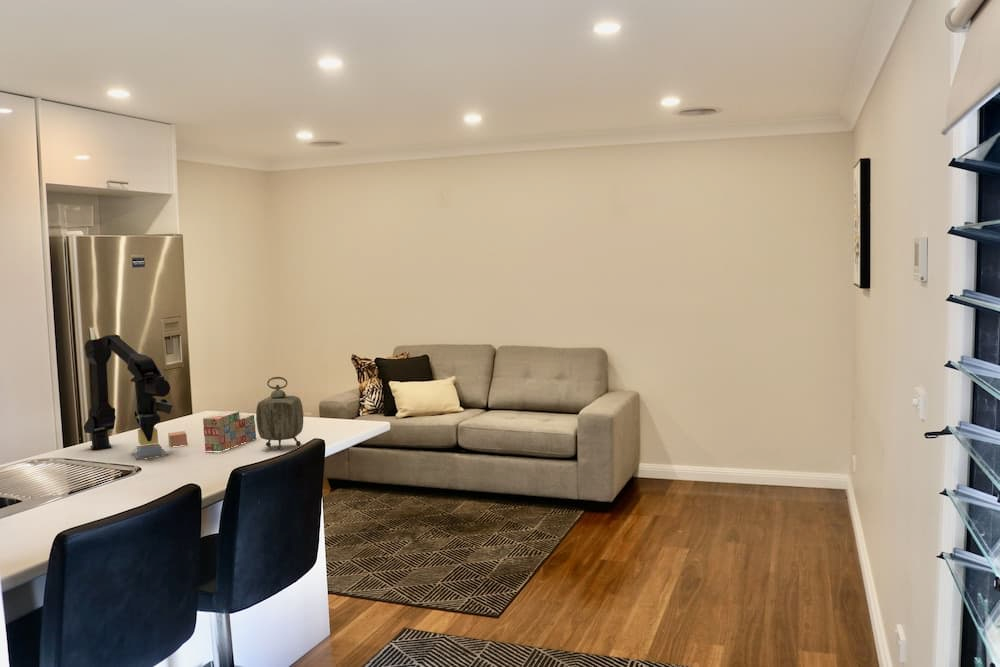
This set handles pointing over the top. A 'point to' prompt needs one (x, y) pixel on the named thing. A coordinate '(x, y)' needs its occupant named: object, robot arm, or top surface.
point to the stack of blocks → (228, 430)
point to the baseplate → (148, 451)
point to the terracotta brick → (177, 438)
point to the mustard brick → (143, 439)
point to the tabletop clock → (279, 416)
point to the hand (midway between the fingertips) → (148, 439)
